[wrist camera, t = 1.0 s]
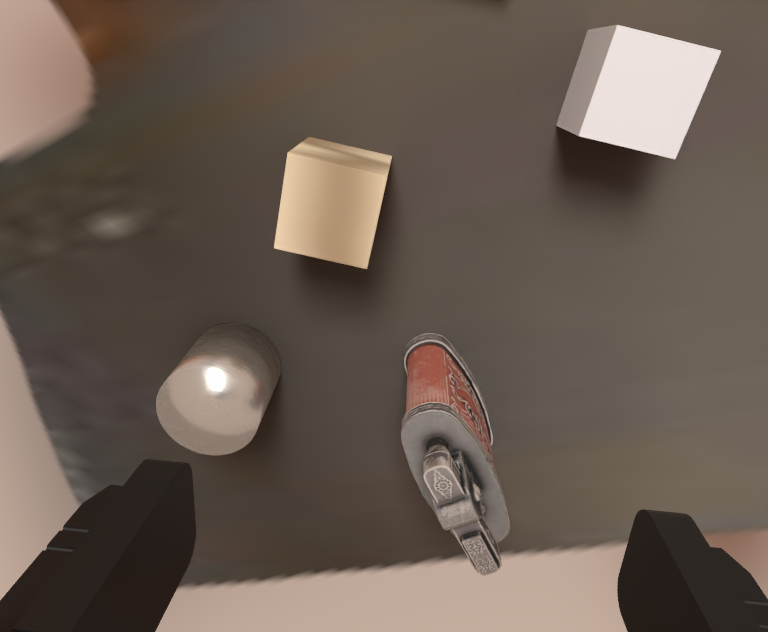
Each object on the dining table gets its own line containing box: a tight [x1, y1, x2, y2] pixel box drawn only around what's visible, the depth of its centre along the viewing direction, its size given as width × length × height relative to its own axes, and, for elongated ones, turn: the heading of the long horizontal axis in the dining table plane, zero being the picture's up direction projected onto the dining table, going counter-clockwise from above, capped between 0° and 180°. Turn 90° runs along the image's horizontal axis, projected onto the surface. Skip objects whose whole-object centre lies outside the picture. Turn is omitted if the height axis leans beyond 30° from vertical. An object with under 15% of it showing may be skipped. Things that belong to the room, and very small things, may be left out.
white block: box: [556, 25, 721, 159], centre depth 24 cm, size 4×4×4 cm
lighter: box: [401, 333, 510, 575], centre depth 28 cm, size 8×3×10 cm, turn 26°
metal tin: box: [156, 323, 281, 455], centre depth 30 cm, size 5×5×5 cm
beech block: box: [274, 137, 392, 269], centre depth 26 cm, size 4×4×5 cm
